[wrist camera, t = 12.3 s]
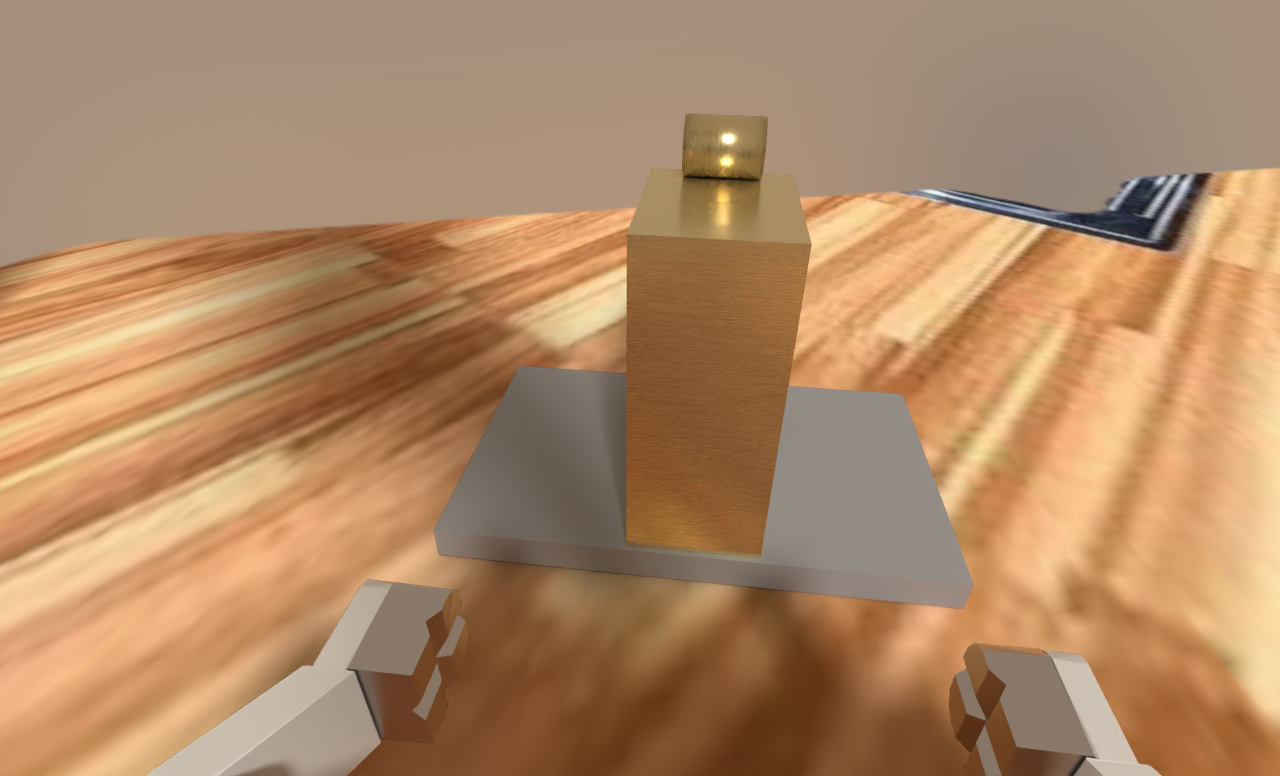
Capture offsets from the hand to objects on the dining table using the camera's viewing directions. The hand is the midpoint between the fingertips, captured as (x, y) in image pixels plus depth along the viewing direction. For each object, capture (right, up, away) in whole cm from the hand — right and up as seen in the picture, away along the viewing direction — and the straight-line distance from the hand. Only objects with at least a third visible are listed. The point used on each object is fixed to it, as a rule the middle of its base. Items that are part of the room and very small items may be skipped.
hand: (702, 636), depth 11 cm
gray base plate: (+1, 0, +17) cm, 17 cm away
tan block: (+1, 0, +14) cm, 14 cm away
